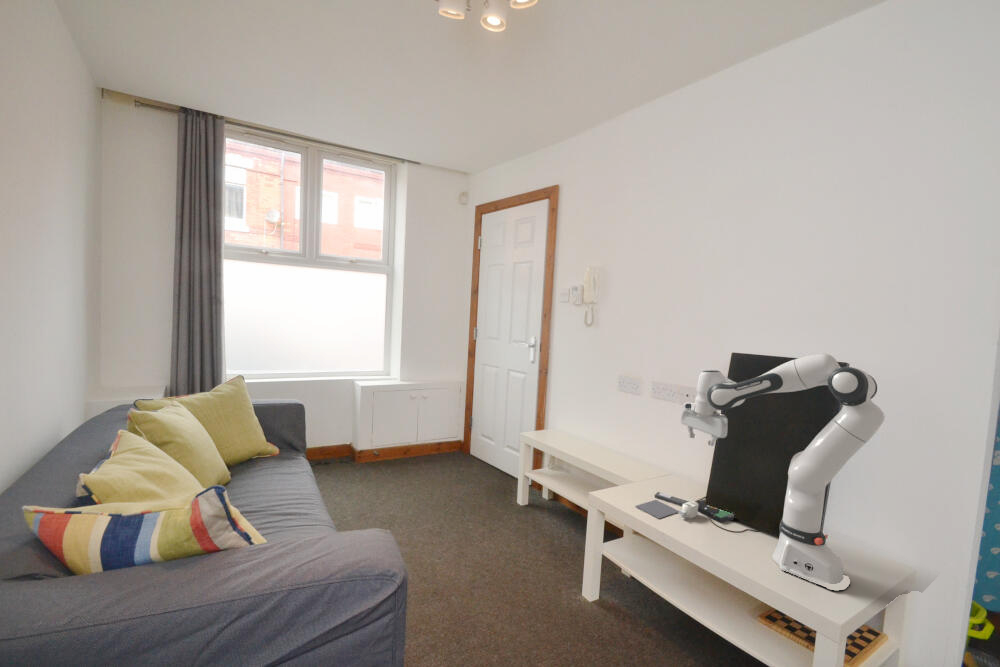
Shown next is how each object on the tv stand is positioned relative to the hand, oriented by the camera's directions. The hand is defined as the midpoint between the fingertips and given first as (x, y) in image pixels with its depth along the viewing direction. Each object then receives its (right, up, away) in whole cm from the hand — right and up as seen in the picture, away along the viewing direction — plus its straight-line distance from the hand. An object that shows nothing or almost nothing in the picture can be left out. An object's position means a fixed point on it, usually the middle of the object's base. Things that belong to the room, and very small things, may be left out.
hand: (701, 441), depth 190 cm
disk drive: (+8, -33, +7) cm, 35 cm away
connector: (-4, -32, +2) cm, 32 cm away
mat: (-16, -31, +7) cm, 35 cm away
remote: (-6, -31, +16) cm, 35 cm away
